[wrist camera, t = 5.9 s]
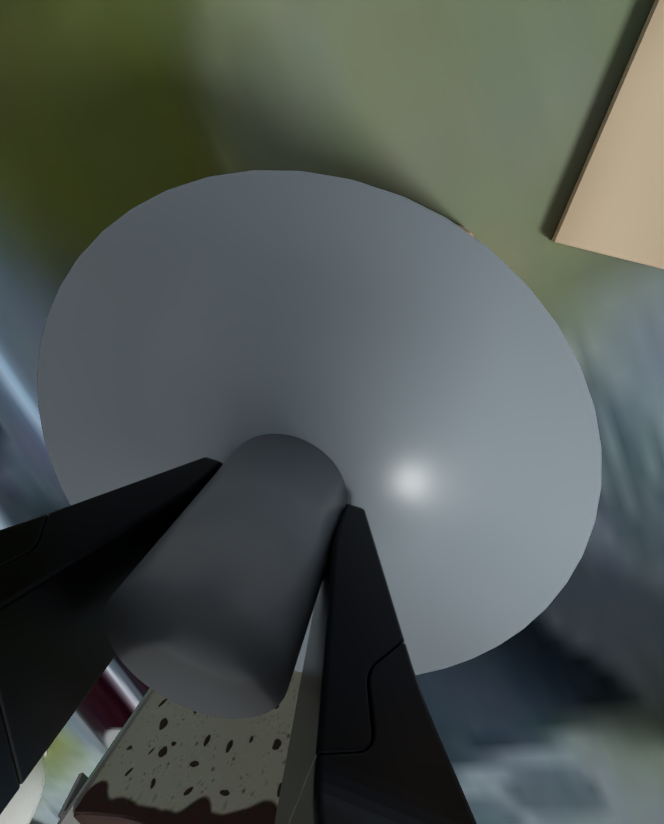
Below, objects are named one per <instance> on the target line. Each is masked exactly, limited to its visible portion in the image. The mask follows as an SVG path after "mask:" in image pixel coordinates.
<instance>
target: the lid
mask: <svg viewBox="0 0 664 824" xmlns="http://www.w3.org/2000/svg"><path fill="white" fill-rule="evenodd" d="M37 386H38V407H39V413H40V419H41V425H42V430H43V436H44V440H45V443H46V446H47V450H48V453H49V456H50V460H51V463H52V466H53V468H54V471H55V473H56V476H57V478H58V480H59V483H60V485H61V487H62V490H63V492H64V494H65V496H66V498H67V499H68V501H69V503H70V505H73V504H76V503H79V502H82V501H84V500H87V499H90V498H93V497H96V496H98V495H101V494H104V493H107V492H109V491H112V490H115V489H118V488H120V487H123V486H126V485H129V484H132V483H134V482H137V481H140V480H143V479H145V478H148V477H151V476H154V475H156V474H159V473H162V472H165V471H168V470H170V469H173V468H176V467H179V466H181V465H184V464H187V463H190V462H192V461H195V460H198V459H201V458H204V457H208V458H211V459H214V460H217V461H220V462H222V464H223V465H222V466H221V468H220V469H219V470H218V471H217V472H216V474H215V475H214V476H213V477H212V478H211V479H210V481H209V482H208V483H207V484H206V485H205V486H204V488H203V489H202V490H201V491H200V492H199V493H198V495H197V496H196V497H195V498H194V499H193V500H192V502H191V503H190V504H189V505H188V506H187V508H186V509H185V510H184V511H183V512H182V513H181V515H180V516H179V517H178V518H177V519H176V520H175V522H174V523H173V524H172V525H171V526H170V527H169V529H168V530H167V531H166V532H165V533H164V535H163V536H162V537H161V538H160V539H159V540H158V542H157V543H156V544H155V545H154V546H153V547H152V549H151V550H150V551H149V552H148V553H147V554H146V556H145V557H144V558H143V559H142V560H141V562H140V563H139V564H138V565H137V566H136V567H135V569H134V570H133V571H132V572H131V573H130V574H129V576H128V577H127V578H126V579H125V580H124V581H123V583H122V584H121V585H120V586H119V587H118V589H117V590H116V591H115V592H114V593H113V594H112V596H111V597H110V598H109V600H108V602H107V604H106V607H105V611H104V624H105V630H106V633H107V637H108V639H109V641H110V643H111V646H112V647H113V649H114V651H115V652H116V654H117V655H118V657H119V658H120V659H121V661H122V662H123V663H124V664H125V666H126V667H127V668H128V669H129V670H130V671H131V672H132V673H133V674H134V675H135V676H136V677H137V678H138V679H139V680H141V681H142V682H143V683H144V684H145V685H147V686H148V687H149V688H151V689H152V690H154V691H155V692H157V693H158V694H160V695H161V696H163V697H165V698H166V699H168V700H170V701H172V702H174V703H176V704H178V705H180V706H183V707H185V708H187V709H190V710H193V711H196V712H198V713H202V714H206V715H209V716H214V717H220V718H229V719H244V718H252V717H257V716H260V715H263V714H265V713H268V712H269V711H271V710H273V709H274V708H276V707H277V706H278V705H279V704H280V703H281V702H282V700H283V699H284V697H285V695H286V693H287V690H288V687H289V684H290V681H291V678H292V675H293V672H294V671H298V672H302V670H303V665H304V659H305V654H306V649H307V643H308V638H309V632H310V627H311V621H312V616H313V611H314V607H315V603H316V600H317V597H318V594H319V590H320V587H321V584H322V581H323V578H324V575H325V571H326V567H327V563H328V559H329V555H330V552H331V548H332V545H333V541H334V538H335V535H336V532H337V529H338V526H339V523H340V520H341V517H342V514H343V511H344V508H345V505H346V504H351V505H354V506H357V507H360V508H363V509H364V510H365V512H366V515H367V519H368V522H369V525H370V529H371V532H372V535H373V538H374V542H375V545H376V548H377V552H378V555H379V558H380V561H381V565H382V568H383V571H384V575H385V578H386V581H387V584H388V588H389V591H390V594H391V598H392V601H393V604H394V607H395V611H396V614H397V617H398V621H399V624H400V627H401V630H402V634H403V637H404V643H405V644H406V646H407V650H408V653H409V656H410V660H411V663H412V666H413V669H414V672H415V675H419V674H423V673H427V672H432V671H436V670H440V669H445V668H448V667H450V666H453V665H456V664H459V663H462V662H465V661H467V660H470V659H473V658H475V657H477V656H479V655H481V654H483V653H485V652H487V651H489V650H491V649H493V648H495V647H497V646H499V645H500V644H502V643H503V642H505V641H506V640H508V639H509V638H511V637H512V636H514V635H515V634H517V633H518V632H520V631H521V630H523V629H524V628H525V627H526V626H527V625H529V624H530V623H531V622H532V621H533V620H534V619H535V618H536V617H537V616H538V615H540V614H541V613H542V612H543V611H544V610H545V609H546V608H547V607H548V606H549V605H550V603H551V602H552V601H553V600H554V598H555V597H556V596H557V595H558V594H559V592H560V591H561V590H562V589H563V587H564V586H565V585H566V584H567V582H568V580H569V579H570V577H571V575H572V573H573V572H574V570H575V568H576V566H577V565H578V563H579V561H580V559H581V558H582V556H583V554H584V551H585V548H586V546H587V543H588V540H589V537H590V535H591V532H592V529H593V526H594V524H595V519H596V514H597V508H598V503H599V497H600V491H601V442H600V436H599V430H598V425H597V419H596V413H595V407H594V404H593V401H592V399H591V396H590V393H589V390H588V387H587V384H586V381H585V378H584V376H583V373H582V370H581V367H580V365H579V363H578V361H577V359H576V357H575V355H574V354H573V352H572V350H571V348H570V346H569V344H568V343H567V341H566V339H565V337H564V335H563V333H562V332H561V330H560V328H559V326H558V324H557V323H556V322H555V320H554V319H553V318H552V316H551V315H550V314H549V313H548V311H547V310H546V309H545V307H544V306H543V305H542V303H541V302H540V301H539V300H538V298H537V297H536V296H535V294H534V293H533V292H532V290H531V289H530V288H529V287H528V285H527V284H526V283H525V282H524V281H523V280H522V279H520V278H519V277H518V276H517V275H516V274H515V273H514V272H513V271H512V270H511V269H510V268H509V267H508V266H507V265H506V264H505V263H504V262H503V261H502V260H501V259H500V258H499V257H498V256H496V255H495V254H494V253H493V252H492V251H491V250H490V249H489V248H488V247H487V246H486V245H484V244H483V243H481V242H480V241H479V240H477V239H476V238H474V237H473V236H472V235H470V234H469V233H467V232H466V231H465V230H463V229H462V228H460V227H459V226H457V225H456V224H455V223H453V222H452V221H450V220H449V219H448V218H446V217H444V216H442V215H440V214H438V213H436V212H434V211H432V210H430V209H428V208H426V207H424V206H422V205H420V204H418V203H416V202H414V201H412V200H410V199H408V198H406V197H404V196H401V195H398V194H394V193H391V192H388V191H385V190H382V189H379V188H376V187H373V186H370V185H367V184H364V183H361V182H358V181H355V180H352V179H346V178H340V177H334V176H329V175H323V174H317V173H311V172H305V171H276V170H251V171H244V172H237V173H231V174H224V175H217V176H210V177H206V178H203V179H200V180H197V181H193V182H190V183H187V184H184V185H181V186H178V187H175V188H172V189H169V190H166V191H164V192H162V193H160V194H159V195H157V196H155V197H153V198H151V199H149V200H147V201H145V202H143V203H141V204H140V205H138V206H136V207H134V208H132V209H131V210H129V211H128V212H127V213H125V214H124V215H123V216H121V217H120V218H119V219H118V220H116V221H115V222H114V223H112V224H111V225H110V226H109V227H107V228H106V229H105V230H103V231H102V232H101V233H100V234H99V235H98V236H97V238H96V239H95V240H94V241H93V242H92V243H91V244H90V245H89V246H88V248H87V249H86V250H85V251H84V252H83V253H82V254H81V255H80V256H79V257H78V259H77V260H76V262H75V263H74V265H73V267H72V268H71V270H70V271H69V273H68V275H67V276H66V278H65V279H64V281H63V282H62V284H61V286H60V288H59V290H58V292H57V295H56V297H55V299H54V302H53V304H52V307H51V309H50V311H49V314H48V316H47V320H46V324H45V328H44V332H43V336H42V341H41V345H40V352H39V363H38V374H37Z"/></svg>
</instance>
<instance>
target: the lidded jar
mask: <svg viewBox="0 0 664 824" xmlns="http://www.w3.org/2000/svg"><path fill="white" fill-rule="evenodd" d="M47 753H48V752H47V751H46V752H45V753H44V755H43V756H42V757H41V759H40V760H39V762H38V763H37V764H36V766H35V767H34V769H33V770H32V771H31V773H30V774H29V775H28V777H27V778H26V780H25V781H24V782H23V783H22V784H20V788H19V790H18V791H17V792H16V794H15V795H14V797H13V798H12V799H11V801H10V802H9V804H8V805H7V806H6V808H5V809H4V810H3V812H2V813H1V815H0V824H29V823H30V821H31V819H32V817H33V815H34V813H35V811H36V809H37V806H38V803H39V801H40V798H41V795H42V791H43V787H44V782H45V759H44V758H45V757H46V755H47Z"/></svg>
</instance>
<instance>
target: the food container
mask: <svg viewBox="0 0 664 824" xmlns="http://www.w3.org/2000/svg"><path fill="white" fill-rule="evenodd" d="M301 676H302V672H298V671H294V672H293V675H292V678H291V681H290V684H289V687H288V690H287V693H286V695H285V697H284V699H283V700H282V702H281V703H280V704H279V705H278V706H277V707H276V708H274V709H273V710H271V711H269V712H268V713H265V714H263V715H260V716H257V717H252V718H244V719H229V718H220V717H214V716H209V715H206V714H202V713H198V712H196V711H193V710H190V709H187V708H185V707H183V706H180V705H178V704H176V703H174V702H172V701H170V700H168V699H166V698H165V697H163V696H161V695H160V694H158V693H157V692H155V691H154V690H152V689H151V688H149V690H148V691H147V693H146V694H145V696H144V697H143V699H142V700H141V702H140V703H139V704H138V706H137V707H136V709H135V710H134V712H133V713H132V715H131V716H130V718H129V719H128V721H127V722H126V724H125V725H124V726H123V728H122V729H121V731H120V732H119V734H118V735H117V737H116V738H115V740H114V741H113V743H112V744H111V746H110V747H109V748H108V750H107V751H106V753H105V754H104V756H103V757H102V759H101V760H100V762H99V763H98V765H97V766H96V768H95V769H94V770H93V772H92V773H91V775H90V776H89V778H88V777H87V776H86V775H85V774H84V773H80V774H79V775H78V777H77V779H76V781H75V783H74V785H73V787H72V789H71V791H70V793H69V795H68V797H67V799H66V801H65V803H64V805H63V807H62V809H61V811H60V813H59V815H58V817H59V818H60V820H59V822H58V824H274V823H275V818H276V812H277V807H278V801H279V796H280V790H281V785H282V779H283V774H284V768H285V763H286V758H287V752H288V747H289V741H290V736H291V730H292V725H293V719H294V714H295V709H296V703H297V698H298V692H299V687H300V681H301Z"/></svg>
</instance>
